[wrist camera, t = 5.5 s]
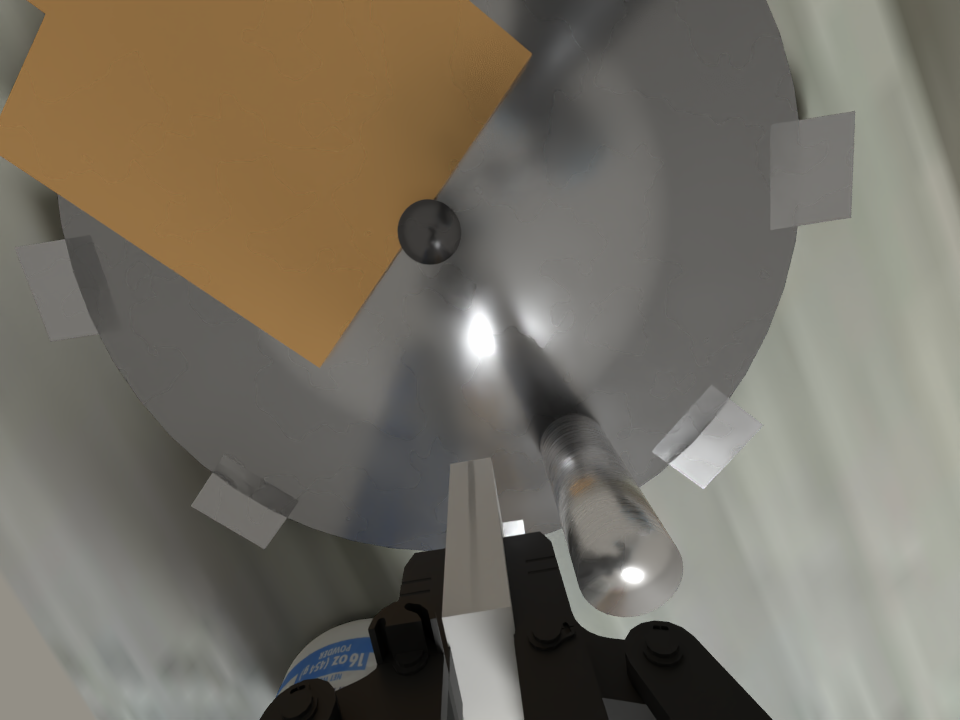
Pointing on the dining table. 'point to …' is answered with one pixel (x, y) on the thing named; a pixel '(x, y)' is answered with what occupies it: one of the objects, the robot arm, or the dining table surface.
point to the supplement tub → (335, 657)
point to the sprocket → (428, 249)
